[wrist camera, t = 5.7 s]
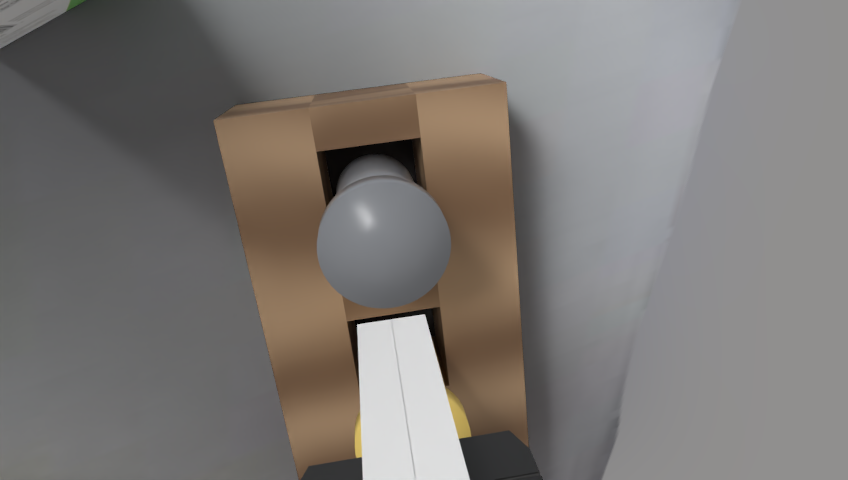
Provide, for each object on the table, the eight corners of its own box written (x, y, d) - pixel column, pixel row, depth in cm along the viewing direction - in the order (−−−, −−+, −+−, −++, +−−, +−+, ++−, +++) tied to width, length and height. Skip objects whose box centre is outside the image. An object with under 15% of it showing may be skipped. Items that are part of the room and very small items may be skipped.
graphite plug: (316, 149, 25) (305, 193, 18) (419, 135, 25) (444, 173, 19) (334, 245, 26) (329, 317, 20) (430, 231, 27) (456, 297, 20)
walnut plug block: (235, 105, 28) (213, 120, 23) (481, 73, 29) (506, 82, 24) (322, 493, 37) (318, 562, 32) (510, 460, 37) (533, 522, 33)
